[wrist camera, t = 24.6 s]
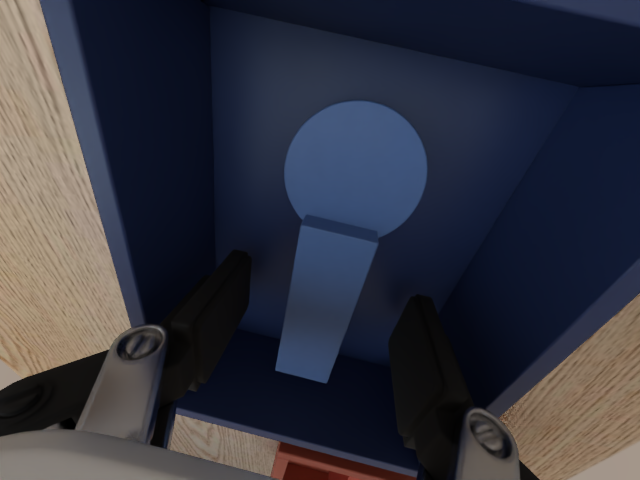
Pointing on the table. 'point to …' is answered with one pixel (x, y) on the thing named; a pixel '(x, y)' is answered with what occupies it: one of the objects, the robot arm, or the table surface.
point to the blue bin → (409, 238)
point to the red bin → (323, 466)
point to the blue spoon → (342, 220)
